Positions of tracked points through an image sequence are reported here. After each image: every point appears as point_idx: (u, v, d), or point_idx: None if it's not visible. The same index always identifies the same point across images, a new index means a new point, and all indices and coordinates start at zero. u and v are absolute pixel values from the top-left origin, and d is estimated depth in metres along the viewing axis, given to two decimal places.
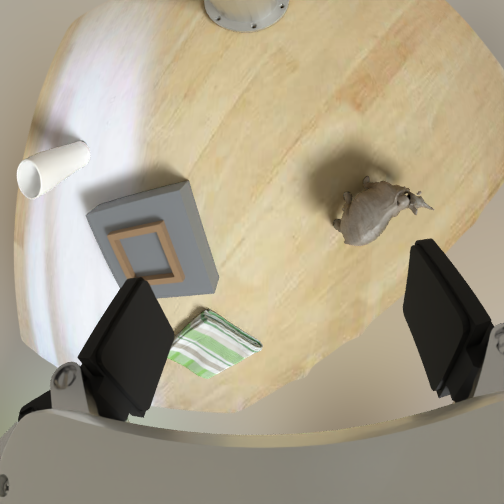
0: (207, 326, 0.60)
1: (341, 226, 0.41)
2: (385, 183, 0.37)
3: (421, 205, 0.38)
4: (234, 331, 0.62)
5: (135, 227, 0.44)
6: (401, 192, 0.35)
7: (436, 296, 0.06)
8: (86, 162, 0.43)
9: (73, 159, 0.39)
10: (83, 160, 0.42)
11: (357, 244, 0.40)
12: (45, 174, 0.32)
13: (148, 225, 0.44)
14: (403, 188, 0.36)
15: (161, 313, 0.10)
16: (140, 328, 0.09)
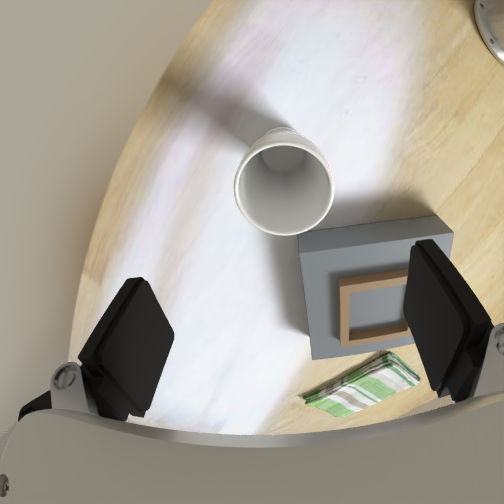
0: (385, 370, 0.47)
1: None
2: None
3: None
4: (405, 370, 0.49)
5: (388, 276, 0.31)
6: None
7: (436, 296, 0.06)
8: None
9: None
10: None
11: None
12: None
13: (407, 273, 0.31)
14: None
15: (161, 313, 0.10)
16: (140, 329, 0.09)
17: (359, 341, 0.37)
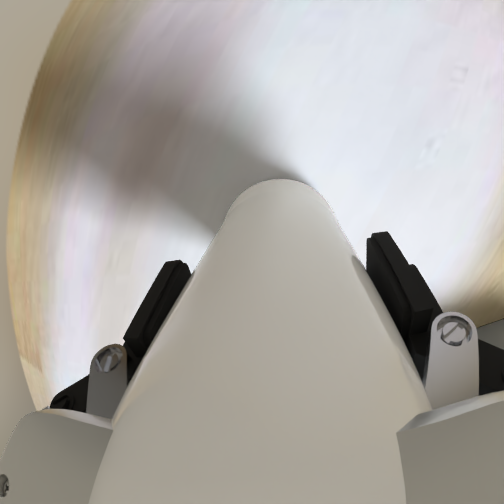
0: None
1: None
2: None
3: None
4: None
5: None
6: None
7: (384, 285, 0.07)
8: None
9: None
10: None
11: None
12: None
13: None
14: None
15: None
16: None
17: None
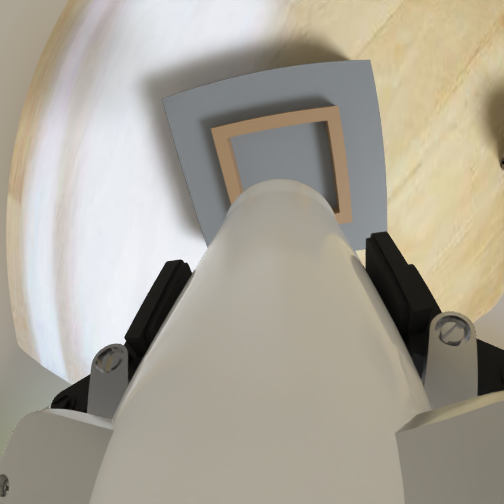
0: None
1: None
2: None
3: None
4: None
5: (280, 113, 0.23)
6: None
7: (383, 285, 0.07)
8: None
9: None
10: None
11: None
12: None
13: (309, 109, 0.22)
14: None
15: None
16: None
17: None
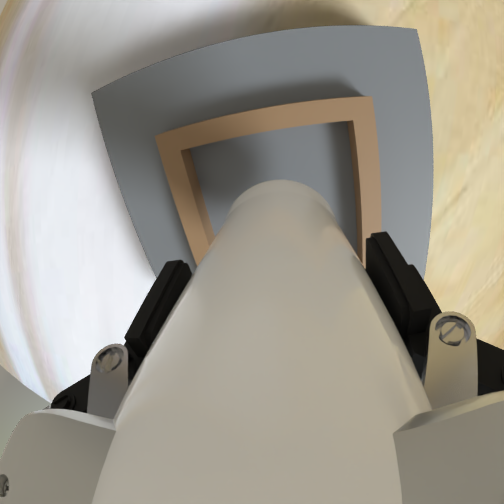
0: None
1: None
2: None
3: None
4: None
5: (271, 106, 0.13)
6: None
7: (383, 285, 0.07)
8: None
9: None
10: None
11: None
12: None
13: (322, 99, 0.12)
14: None
15: None
16: None
17: None
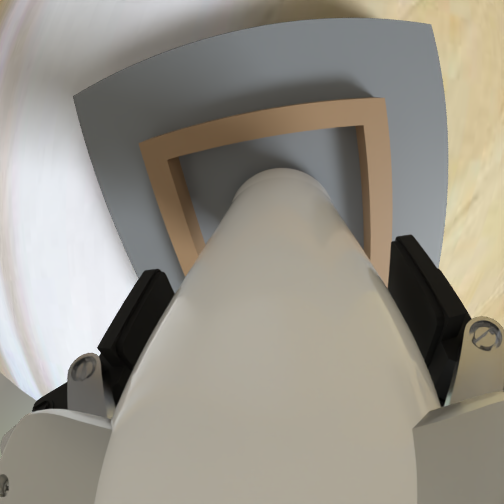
0: None
1: None
2: None
3: None
4: None
5: (270, 108, 0.11)
6: None
7: (413, 290, 0.07)
8: None
9: None
10: None
11: None
12: None
13: (328, 101, 0.11)
14: None
15: None
16: (158, 320, 0.09)
17: None
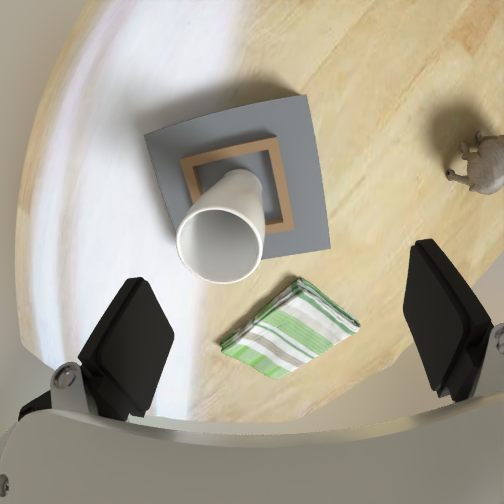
0: (299, 302, 0.46)
1: (471, 169, 0.28)
2: None
3: None
4: (331, 307, 0.47)
5: (232, 145, 0.30)
6: None
7: (436, 296, 0.06)
8: None
9: None
10: None
11: (487, 190, 0.27)
12: (263, 241, 0.21)
13: (254, 141, 0.30)
14: None
15: (161, 313, 0.10)
16: (140, 329, 0.09)
17: None
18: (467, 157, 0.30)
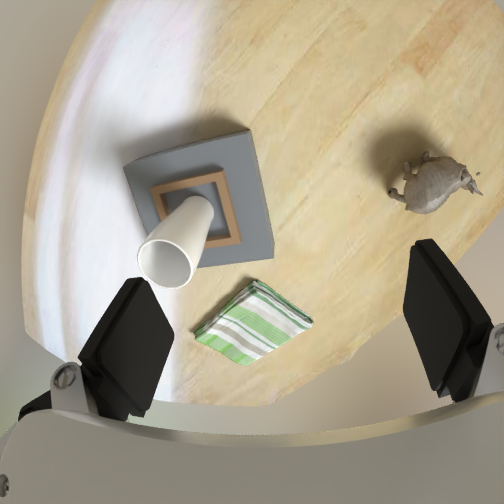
0: (255, 300, 0.55)
1: (406, 191, 0.37)
2: (450, 158, 0.33)
3: (474, 188, 0.34)
4: (284, 305, 0.56)
5: (188, 178, 0.39)
6: (464, 169, 0.31)
7: (436, 296, 0.06)
8: None
9: (207, 227, 0.37)
10: None
11: (421, 211, 0.36)
12: (195, 260, 0.30)
13: (205, 174, 0.38)
14: (465, 166, 0.32)
15: (161, 313, 0.10)
16: (140, 329, 0.09)
17: None
18: (407, 178, 0.38)
